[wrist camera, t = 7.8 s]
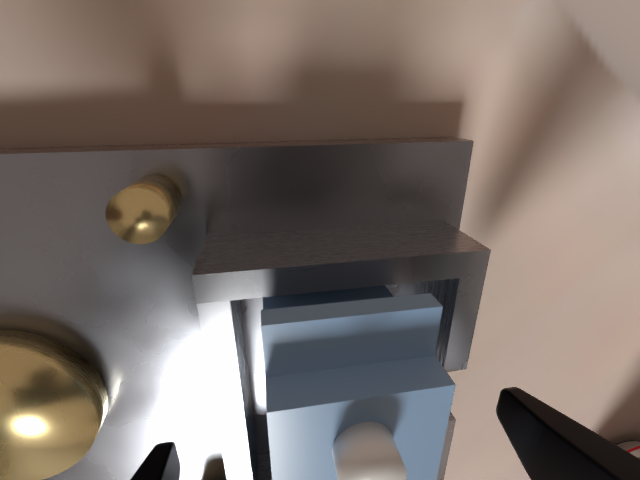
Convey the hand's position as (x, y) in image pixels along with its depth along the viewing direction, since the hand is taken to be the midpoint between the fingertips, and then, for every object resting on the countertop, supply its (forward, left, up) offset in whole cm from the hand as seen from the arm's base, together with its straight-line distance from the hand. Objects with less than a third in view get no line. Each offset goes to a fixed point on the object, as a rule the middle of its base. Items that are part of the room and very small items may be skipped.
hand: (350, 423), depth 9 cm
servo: (0, 0, -2) cm, 3 cm away
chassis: (0, +5, -4) cm, 6 cm away
